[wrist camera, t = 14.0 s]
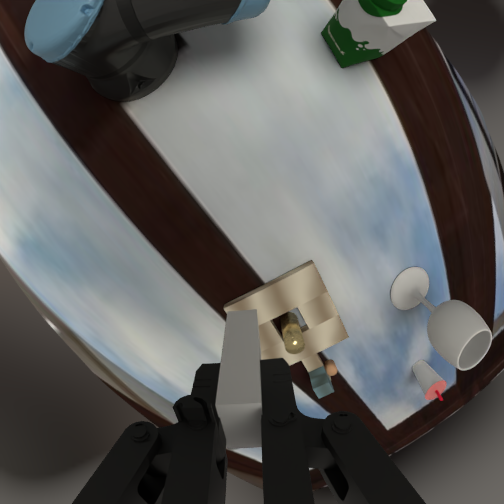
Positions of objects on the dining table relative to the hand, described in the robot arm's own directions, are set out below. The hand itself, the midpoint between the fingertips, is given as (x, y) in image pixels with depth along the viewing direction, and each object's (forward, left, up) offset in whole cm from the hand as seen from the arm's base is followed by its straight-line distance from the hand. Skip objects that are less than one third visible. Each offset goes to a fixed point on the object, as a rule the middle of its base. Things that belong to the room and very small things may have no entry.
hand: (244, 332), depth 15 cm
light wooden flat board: (+15, -17, -30) cm, 38 cm away
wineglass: (+32, -2, -31) cm, 44 cm away
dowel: (+23, -21, -30) cm, 44 cm away
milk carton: (+6, +33, -31) cm, 45 cm away
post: (+12, -14, -30) cm, 36 cm away
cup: (+46, -18, -31) cm, 58 cm away
